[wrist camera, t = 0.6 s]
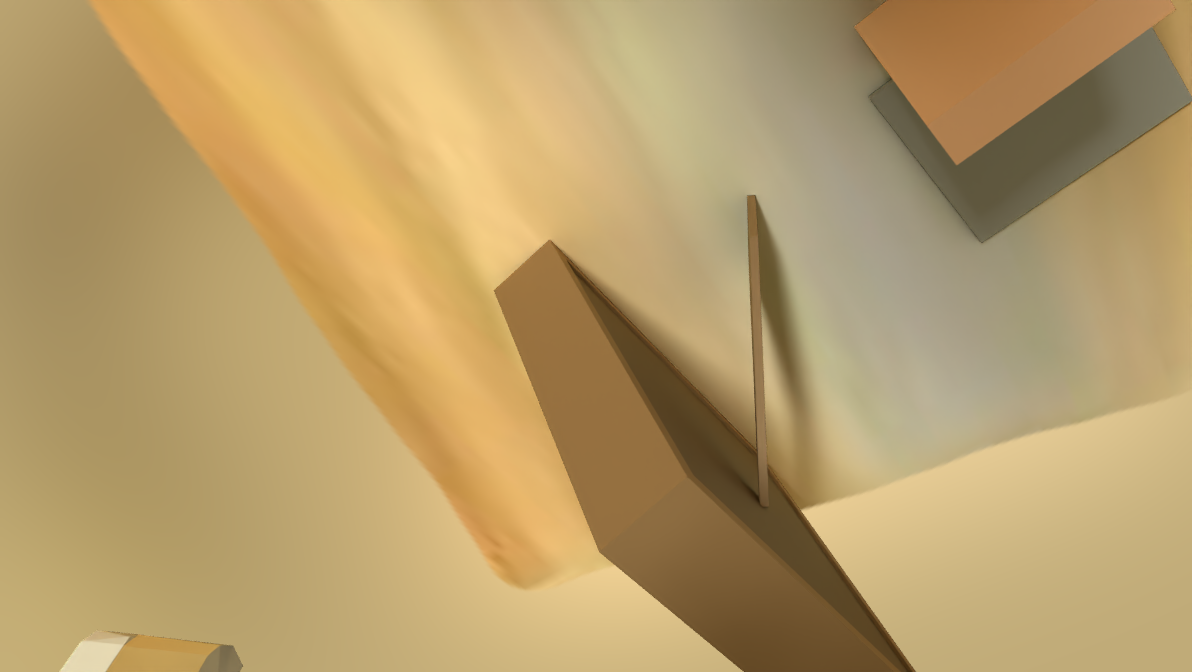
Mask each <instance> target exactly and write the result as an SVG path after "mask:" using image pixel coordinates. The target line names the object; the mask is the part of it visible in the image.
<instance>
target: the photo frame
mask: <svg viewBox="0 0 1192 672" xmlns="http://www.w3.org/2000/svg"><path fill="white" fill-rule="evenodd" d="M747 208H748V256H749V282H750V305H751V327H752V350H753V373H754V396H755V419H756V442H757V450H756V449H755V448H754V447H753V446H752V445H751V444H750V443H749V442H748V441H747V440H746V439H745V438H744V437H743V436H742V435H741V434H740V433H739V432H738V431H737V430H736V429H735V428H734V427H733V426H732V425H731V424H730V423H729V422H728V421H727V420H726V419H725V418H724V417H723V416H722V415H721V414H720V412H719V411H718V410H717V409H716V408H715V407H714V406H713V405H712V404H711V403H710V402H709V401H708V400H707V399H706V398H705V397H704V396H703V395H702V394H701V393H700V392H699V391H698V390H697V389H696V388H695V387H694V386H693V385H692V384H691V383H690V382H689V381H688V380H687V379H686V378H685V377H684V376H683V375H682V374H681V373H680V372H679V371H678V370H677V369H676V368H675V367H674V366H673V365H672V364H671V363H670V362H669V361H668V360H667V359H666V358H665V356H664V355H663V354H662V353H661V352H660V351H659V350H658V349H657V348H656V347H655V346H654V345H653V344H652V343H651V342H650V341H649V340H648V339H647V338H646V337H645V336H644V335H643V334H642V333H641V332H640V331H639V330H638V329H637V328H636V327H635V326H634V325H633V324H632V323H631V322H630V321H629V320H628V319H627V318H626V317H625V316H624V315H623V314H622V313H621V312H620V311H619V310H618V309H617V308H616V307H615V306H614V305H613V304H612V303H611V301H610V300H609V299H608V298H607V297H606V296H605V295H604V294H603V293H602V292H601V291H600V290H599V289H598V288H597V287H596V286H595V285H594V284H593V283H592V282H591V281H590V280H589V279H588V278H587V277H586V276H585V275H584V274H583V273H582V272H581V271H580V270H579V269H578V268H577V267H576V266H575V265H574V264H573V263H572V262H571V261H570V260H569V259H568V258H567V257H566V256H565V255H564V254H563V253H562V252H561V251H560V250H559V249H558V248H557V246H556V245H555V244H554V243H553V242H552V241H551V240H549V241H548V242H547V243H545V244H544V245H543V246H542V247H541V248H540V249H539V250H538V251H537V252H536V253H534V254H533V255H532V256H531V257H530V258H529V259H528V260H527V261H526V262H525V263H524V264H522V265H521V266H520V267H519V268H518V269H517V270H516V271H515V272H514V273H513V274H511V275H510V276H509V277H508V278H507V279H506V280H505V281H504V282H503V283H502V284H500V285H499V286H498V287H497V288H496V289H495V290H494V292H495V294H496V297H497V299H498V302H499V304H500V307H501V309H502V312H503V314H504V317H505V319H506V322H507V324H508V327H509V329H510V332H511V334H512V337H513V339H514V342H515V344H516V346H517V349H518V351H519V354H520V356H521V359H522V361H523V364H524V366H525V369H526V371H527V374H528V376H529V379H530V381H531V384H532V386H533V389H534V391H535V394H536V396H537V399H538V401H539V404H540V406H541V409H542V411H543V413H544V416H545V418H546V421H547V423H548V426H549V428H550V431H551V433H552V436H553V438H554V441H555V443H556V446H557V448H558V451H559V453H560V456H561V458H562V461H563V463H564V466H565V468H566V471H567V473H568V476H569V478H570V480H571V483H572V485H573V488H574V490H575V493H576V495H577V498H578V500H579V503H580V505H581V508H582V510H583V513H584V515H585V518H586V520H587V523H588V525H589V528H590V530H591V533H592V535H593V538H594V540H595V543H596V545H597V547H598V550H599V552H600V553H601V554H602V555H604V556H605V557H606V558H607V559H608V560H610V561H611V562H612V563H613V564H614V565H616V566H617V567H618V568H619V569H620V570H622V571H623V572H624V573H625V574H626V575H628V576H629V577H630V578H631V579H633V580H634V581H635V582H636V583H637V584H639V585H640V586H641V587H642V588H643V589H645V590H646V591H647V592H648V593H649V594H651V595H652V596H653V597H654V598H656V599H657V600H658V601H659V602H660V603H661V604H663V605H664V606H665V607H666V608H668V609H669V610H670V611H671V612H672V613H674V614H675V615H676V616H677V617H678V618H680V619H681V620H682V621H683V622H684V623H686V624H687V625H688V626H689V627H690V628H692V629H693V630H694V631H695V632H696V633H698V634H699V635H700V636H701V637H703V638H704V639H705V640H706V641H707V642H709V643H710V644H711V645H712V646H713V647H715V648H716V649H717V650H718V651H719V652H721V653H722V654H723V655H724V656H726V657H727V658H728V659H729V660H730V661H732V662H733V663H734V664H735V665H736V666H738V667H739V668H740V669H741V670H742V671H744V672H915V670H914V669H913V667H912V666H911V664H910V663H909V662H908V660H907V659H906V657H905V656H904V655H903V653H902V652H901V650H900V649H899V648H898V646H897V645H896V643H895V642H894V641H893V639H892V638H891V636H890V635H889V634H888V632H887V631H886V630H885V628H884V627H883V625H882V624H881V623H880V621H879V620H878V618H877V617H876V615H875V614H874V613H873V611H872V610H871V608H870V607H869V606H868V604H867V603H866V601H865V600H864V599H863V597H862V596H861V594H860V593H859V592H858V590H857V589H856V587H855V586H854V585H853V583H852V582H851V580H850V579H849V578H848V576H847V575H846V574H845V572H844V571H843V569H842V568H841V566H840V565H839V564H838V562H837V561H836V559H835V558H834V557H833V555H832V554H831V552H830V551H829V550H828V548H827V547H826V545H825V544H824V543H823V541H822V540H821V538H820V537H819V536H818V534H817V533H816V531H815V530H814V529H813V527H812V526H811V525H810V523H809V521H808V520H807V519H806V517H805V516H804V514H803V513H802V512H801V510H800V509H799V507H798V506H797V505H796V503H795V502H794V500H793V499H792V498H791V496H790V495H789V493H788V492H787V491H786V489H785V488H784V486H783V485H782V484H781V482H780V481H779V479H778V478H777V477H776V475H775V474H774V472H773V471H772V470H771V468H770V467H769V465H768V464H767V447H766V422H765V397H764V371H763V346H762V321H761V296H760V271H759V245H758V228H757V214H756V201H755V195H752V196H747Z"/></svg>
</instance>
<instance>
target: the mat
mask: <svg viewBox="0 0 1192 672" xmlns="http://www.w3.org/2000/svg"><path fill="white" fill-rule="evenodd" d="M869 98H870V100H871V101H872V102H873V104H874V105H875V106H876V108H877V109H878V110H879V111H880V113H881V114H882V115H883V117H884V118H885V119H886V120H887V122H888V123H889V124H890V126H891V127H892V128H893V129H894V131H895V132H896V133H897V135H898V136H899V137H900V139H901V140H902V141H903V142H904V144H905V145H906V146H907V148H908V149H909V150H910V151H911V153H912V154H913V155H914V157H915V158H916V159H917V160H918V162H919V163H920V164H921V166H922V167H923V168H924V169H925V171H926V172H927V173H928V175H929V176H930V177H931V178H932V180H933V181H934V182H935V184H936V185H937V186H938V188H939V189H940V190H941V191H942V193H943V194H944V195H945V197H946V198H947V199H948V200H949V202H950V203H951V204H952V206H953V207H954V208H955V209H956V211H957V212H958V213H959V215H960V216H961V217H962V218H963V220H964V221H965V222H966V224H967V225H968V226H969V228H970V229H971V230H972V231H973V233H974V234H975V235H976V237H977V238H978V239H979V240H980V242H981V243H982V242H984V241H985V240H987V239H988V238H990V237H991V236H993V235H994V234H996V233H997V232H999V231H1000V230H1002V229H1003V228H1005V227H1006V226H1008V225H1009V224H1011V223H1012V222H1014V221H1015V220H1016V219H1018V218H1019V217H1021V216H1022V215H1024V214H1025V213H1027V212H1028V211H1030V210H1031V209H1033V208H1034V207H1036V206H1037V205H1039V204H1040V203H1042V202H1043V201H1045V200H1046V199H1048V198H1049V197H1051V196H1052V195H1054V194H1055V193H1056V192H1058V191H1059V190H1061V189H1062V188H1064V187H1065V186H1067V185H1068V184H1070V183H1071V182H1073V181H1074V180H1076V179H1077V178H1079V177H1080V176H1082V175H1083V174H1085V173H1086V172H1088V171H1089V170H1091V169H1092V168H1094V167H1095V166H1096V165H1098V164H1099V163H1101V162H1102V161H1104V160H1105V159H1107V158H1108V157H1110V156H1111V155H1113V154H1114V153H1116V152H1117V151H1119V150H1120V149H1122V148H1123V147H1125V146H1126V145H1128V144H1129V143H1131V142H1132V141H1134V140H1135V139H1136V138H1138V137H1139V136H1141V135H1142V134H1144V133H1145V132H1147V131H1148V130H1150V129H1151V128H1153V127H1154V126H1156V125H1157V124H1159V123H1160V122H1162V121H1163V120H1165V119H1166V118H1168V117H1169V116H1171V115H1172V114H1174V113H1175V112H1176V111H1178V110H1179V109H1181V108H1182V107H1184V106H1185V105H1187V104H1188V103H1190V102H1191V101H1192V96H1191V95H1190V93H1189V91H1188V89H1187V88H1186V86H1185V84H1184V82H1183V81H1182V79H1181V77H1180V75H1179V74H1178V72H1177V70H1176V68H1175V67H1174V65H1173V63H1172V61H1171V60H1170V58H1169V56H1168V54H1167V52H1166V51H1165V49H1164V47H1163V45H1162V44H1161V42H1160V40H1159V38H1158V37H1157V35H1156V33H1155V31H1154V30H1153V28H1152V27H1151V28H1149V29H1148V30H1147V31H1145V32H1144V33H1142V34H1141V35H1140V36H1138V37H1137V38H1135V39H1134V40H1133V41H1131V42H1130V43H1128V44H1127V45H1125V46H1124V47H1123V48H1121V49H1120V50H1118V51H1117V52H1116V53H1114V54H1113V55H1111V56H1110V57H1109V58H1107V59H1106V60H1104V61H1103V62H1102V63H1100V64H1099V65H1097V66H1096V67H1095V68H1093V69H1092V70H1090V71H1089V72H1087V73H1086V74H1085V75H1083V76H1082V77H1080V78H1079V79H1078V80H1076V81H1075V82H1073V83H1072V84H1071V85H1069V86H1068V87H1066V88H1065V89H1064V90H1062V91H1061V92H1059V93H1058V94H1057V95H1055V96H1054V97H1052V98H1051V99H1049V100H1048V101H1047V102H1045V103H1044V104H1042V105H1041V106H1040V107H1038V108H1037V109H1035V110H1034V111H1033V112H1031V113H1030V114H1028V115H1027V116H1026V117H1024V118H1023V119H1021V120H1020V121H1019V122H1017V123H1016V124H1014V125H1013V126H1011V127H1010V128H1009V129H1007V130H1006V131H1004V132H1003V133H1002V134H1000V135H999V136H997V137H996V138H995V139H993V140H992V141H990V142H989V143H988V144H986V145H985V146H983V147H982V148H981V149H979V150H978V151H976V152H975V153H973V154H972V155H971V156H969V157H968V158H966V159H965V160H964V161H962V162H961V163H959V164H958V165H956V164H955V163H954V161H953V160H952V159H951V157H950V156H949V155H948V153H947V152H946V151H945V149H944V148H943V147H942V145H941V144H940V143H939V141H938V140H937V139H936V137H935V136H934V135H933V133H932V132H931V131H930V129H929V128H928V127H927V125H926V124H925V123H924V121H923V120H922V118H921V117H920V116H919V114H918V113H917V112H916V110H915V109H914V108H913V106H912V105H911V104H910V102H909V101H908V100H907V98H906V97H905V95H904V94H903V93H902V91H901V90H900V89H899V87H898V86H897V85H896V83H895V82H894V81H893V79H891V80H890V81H888V82H887V83H886V84H885V85H883V86H882V87H881V88H879V89H878V90H877V91H875V92H874V93H873V94H871V95H870V96H869Z"/></svg>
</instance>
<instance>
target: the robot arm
mask: <svg viewBox="0 0 1192 672" xmlns="http://www.w3.org/2000/svg"><path fill="white" fill-rule="evenodd" d="M242 667H243V665H242V663H241V661H240V659H239V657H238V655H237V653H236V651H235V649H234V647H233V646H232V645H223V644H214V643H205V642H197V641H188V640H180V639H171V638H162V637H154V636H145V635H140V634H130V633H120V632H109V631H99V630H98V631H95V632H94V633H93V634H91V635H90V636H88V637H87V638H86V639H84V640H82V641H81V642H80V644H79V645H78V646H77V648H76V649H75V650H74V652H73V653H72V655H71V656H70V657H69V659H68V660H67V661H66V663H65V664H64V666H63V667H62V668H61V670H60V671H59V672H240V670H241V669H242Z"/></svg>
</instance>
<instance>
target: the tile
mask: <svg viewBox="0 0 1192 672" xmlns="http://www.w3.org/2000/svg"><path fill="white" fill-rule="evenodd" d="M1175 10H1176V8H1175V7H1174V5H1173V3H1172V1H1171V0H887V1H886V2H885V3H883V4H882V5H881V6H879V7H878V8H877V9H876V10H874V11H873V12H872V13H871V14H869V15H868V16H867V17H866V18H864V19H863V20H862V21H861V22H859V23H858V24H857V25H856V26H854V28H855V29H856V30H857V32H858V33H859V35H860V36H861V37H862V39H863V40H864V41H865V43H866V44H867V45H868V47H869V48H870V49H871V51H872V52H873V53H874V55H875V56H876V58H877V59H878V60H879V62H880V63H881V64H882V66H883V67H884V68H885V70H886V71H887V72H888V74H889V75H890V77H891V78H892V79H893V81H894V82H895V83H896V85H897V86H898V87H899V89H900V90H901V91H902V93H903V94H904V95H905V97H906V98H907V100H908V101H909V102H910V104H911V105H912V106H913V108H914V109H915V110H916V112H917V113H918V114H919V116H920V117H921V118H922V120H923V121H924V123H925V124H926V125H927V127H928V128H929V129H930V131H931V132H932V133H933V135H934V136H935V137H936V139H937V140H938V141H939V143H940V144H941V145H942V147H943V148H944V149H945V151H946V152H947V153H948V155H949V156H950V157H951V159H952V160H953V161H954V163H955V164H956V165H958V164H959V163H961V162H962V161H964V160H965V159H966V158H968V157H969V156H971V155H972V154H973V153H975V152H976V151H978V150H979V149H981V148H982V147H983V146H985V145H986V144H988V143H989V142H990V141H992V140H993V139H995V138H996V137H997V136H999V135H1000V134H1002V133H1003V132H1004V131H1006V130H1007V129H1009V128H1010V127H1011V126H1013V125H1014V124H1016V123H1017V122H1019V121H1020V120H1021V119H1023V118H1024V117H1026V116H1027V115H1028V114H1030V113H1031V112H1033V111H1034V110H1035V109H1037V108H1038V107H1040V106H1041V105H1042V104H1044V103H1045V102H1047V101H1048V100H1049V99H1051V98H1052V97H1054V96H1055V95H1057V94H1058V93H1059V92H1061V91H1062V90H1064V89H1065V88H1066V87H1068V86H1069V85H1071V84H1072V83H1073V82H1075V81H1076V80H1078V79H1079V78H1080V77H1082V76H1083V75H1085V74H1086V73H1087V72H1089V71H1090V70H1092V69H1093V68H1095V67H1096V66H1097V65H1099V64H1100V63H1102V62H1103V61H1104V60H1106V59H1107V58H1109V57H1110V56H1111V55H1113V54H1114V53H1116V52H1117V51H1118V50H1120V49H1121V48H1123V47H1124V46H1125V45H1127V44H1128V43H1130V42H1131V41H1133V40H1134V39H1135V38H1137V37H1138V36H1140V35H1141V34H1142V33H1144V32H1145V31H1147V30H1148V29H1149V28H1151V27H1152V26H1154V25H1155V24H1156V23H1158V22H1159V21H1161V20H1162V19H1163V18H1165V17H1166V16H1168V15H1169V14H1170V13H1172V12H1173V11H1175Z"/></svg>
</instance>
